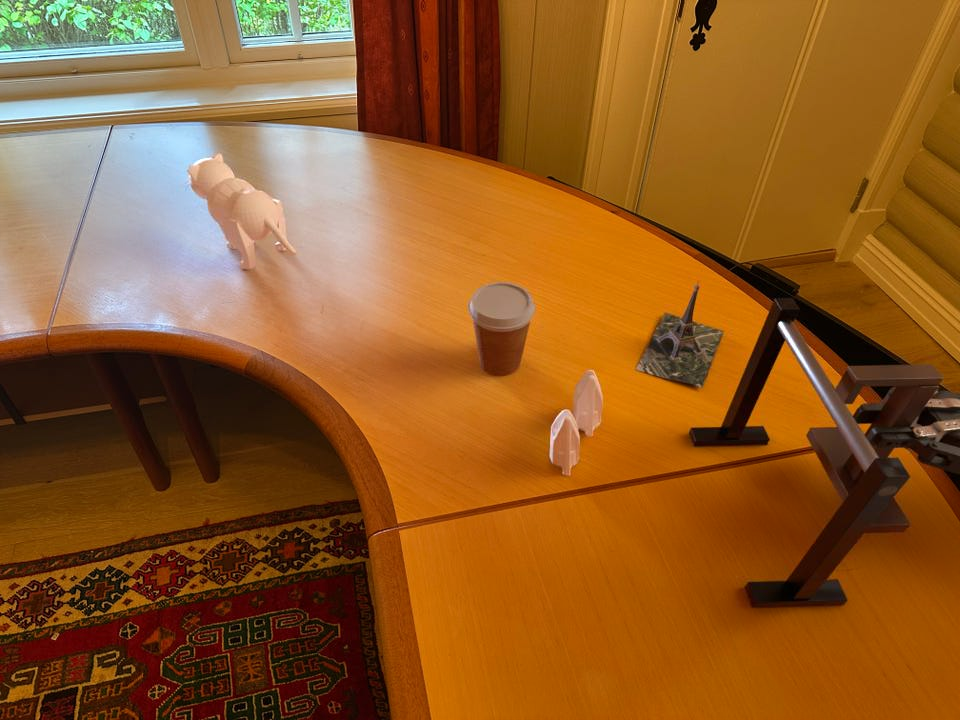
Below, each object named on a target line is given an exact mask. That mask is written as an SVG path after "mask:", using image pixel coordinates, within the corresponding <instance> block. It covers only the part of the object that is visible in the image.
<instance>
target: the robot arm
mask: <svg viewBox="0 0 960 720" xmlns="http://www.w3.org/2000/svg"><path fill="white" fill-rule="evenodd" d="M895 388H896V386H892V387H890V389H889V390H888V392H887V394H886V395H885V396H884V398H883V400H882V401H881V402H868V403H867V402H866V403H862V404H860V405H859V407H857V408H856V410H855V412H854V413H853V414H852V416H853V417H854V419H855V420H856V422H857V424H858V425H871V424H872V422H873V421H874V419H875V418H876V416H877V415H878V413H879V412H880V410H881V409H882V407H883V406H884V404H885V403H886V401H887V400H888V398H889V397H890V395H891V394H892V392H893V391H894V389H895ZM911 428H912V429H911ZM866 438H867V439H868V441H869V442H870V444H871V445H876V446H877V447H880V448H894V449H905V450H907V451H909V452H914V453H915V454H916V455H917V456H916V458H917V461H918V462H920V463H921V464H923V465H926V466H929V467H933V468H936V469H939V470H943V471H946V472H949V473H952V474H956V475H959V476H960V393H958V392H953V391H949V390H937V391H936V392H935V394H934V395H933V396H932V398H931V399H930V400H929V402H928V403H927V404H926V406H925V407H924V409H923V410H922V411H921V413H920V414H919V415H918V417H917V418H916V419H915V421H914V422H913V423H912V425H911V426H910V428H909V427H875V428H873V429H872V430H871V431H870V433H869V434H868V436H867V437H866ZM938 454H939V455H942V456H946V457H941V456H938Z"/></svg>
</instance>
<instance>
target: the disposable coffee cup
mask: <svg viewBox="0 0 960 720" xmlns="http://www.w3.org/2000/svg"><path fill="white" fill-rule="evenodd" d="M467 306H468V313H469V315H470V317H471V319H472V323H473V330H474V334H475V340H476V341H475V343H476V348H477V353H478V354H477V355H478V359H479V365H480V368H481V369H482V370H483V371H484V372H485V373H487V374H490V375H492V376H498V377H504V376H509V375H512V374H513V373H515V372H517V371H518V370H519V369H520V367H521V363H522V358H523V354H524V350H525V346H526V341H527V339H528V338H527V337H528V333H529V329H530V324H531V321H532V319H533V317H534V315H535V314H536V304H535V301H534V299H533V296H532V294H531V293H530V292H529V291H528V289H526V288H524V287H523V286H522V285H519V284H516V283H513V282H507V281H496V282H495V281H494V282H490V283H487V284H484V285H482V286H480V287H479V288H477V289H476V290H475V291H474V292H473V294H472V297H471V298H470V300H469V302H468V305H467Z"/></svg>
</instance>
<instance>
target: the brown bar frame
mask: <svg viewBox="0 0 960 720" xmlns="http://www.w3.org/2000/svg"><path fill="white" fill-rule="evenodd" d="M943 380H944V377H943V376H942V374H941V373H940V372H939V371H938V370H937V368H936V367H935V366H934V365H933V364H885V365H884V364H882V365H880V364H879V365H848V366H847V368H846V369H845V371H844V373H843V375H842V376H841V378H840V380H839V381H838V383H837V385H836V387H835V389H836V391H837V392H838V394H839V395H840V397H841V398H842V400H843V402H844V403H845V405H853V404H854V403H855V401H856V400H857V398H858V396H859V394H860V393H861V392H862V390H863V388H864V387H867V388H868V387H895V386H896V388H895V389H894V391H893V392H892V394H891V395H890V397H889V398H888V400H887V401H886V403H885V404H884V406H883V407H882V409H881V410H880V412H879V413H878V415H877V416H876V418H875V419H874V421H873V422H872V424H869V426H868V428H867V430H866V431H865V432H864V435H865V436H866V437H867V436H868V434H869V433H870V431H871V430H872V429H873V428H875V427H909V428H910V429H911V427H910V426H911V425H912V423H913V422H914V421H915V419H916V418H917V417H918V415H919V414H920V413H921V411H922V410H923V409H924V407H925V406H926V404H927V403H928V402H929V400H930V399H931V398H932V396H933V395H934V394H935V392H936V391H939V389H940V386H939V385H940V384H941V383H942V381H943ZM805 437H806V439H807V441H808V442H809V444H810V446H811V448H812V449H813V452H814V453H815V455H816V457H817V458H818V460H819V462H820V465H821V466H822V468H823V469H824V471H825V473H826V475H827V476H828V479H829V480H830V482H831V484H832V486H833V487H834V490H835V491H836V493H837V495H838V497H839V499H840V501H841V502H842V503H843V502H844V500H845V499H846V498H847V496H848V495H849V493H850V492H851V491H852V489H853V488H854V487H855V485H856V484H857V482H858V481H859V480H860V478H861V477H862V475H863V474H864V473H865V472H864V471H863V469H862V467H861V466H860V464H859V462H858V461H857V459H856V457H855V456H854V454H853V452H852V451H851V449H850V447H849V446H848V444H847V442H846V441H845V439H844V437H843V436H842V434H841V432H840V431H839V429H838V427H837V426H823V427H821V426H818V427H817V426H816V427H813V426H812V427H810V428H809V430H808V431H807V432H806V435H805ZM871 446H872V447H873V449H874V450H875V452H876V453H877V455H878V457H879V458H889V456H890V455H891V453H893V451H894V450H895V448H880V447H877V446H876V445H871ZM911 525H912V524H911V522H910V520H909V519H908V517H907V516H906V514H905V513H904V511H903V509H902V507H901V506H900V505H899V503H898V501H897V500H896V498H895V497H894V498H893V499H892V500H891V501H890V503H889V504H888V505H887V506H886V507H885V509H884V510H883V511H882V512H881V514H880V515H879V516H878V517H877V518H876V520H875V521H874V522H873V523H872V525H871V526H870V527H869V528H868V529H867V531H866V532H865V533H864V534H894V533H895V534H896V533H905V532H907V530H909V528H910V527H911Z"/></svg>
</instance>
